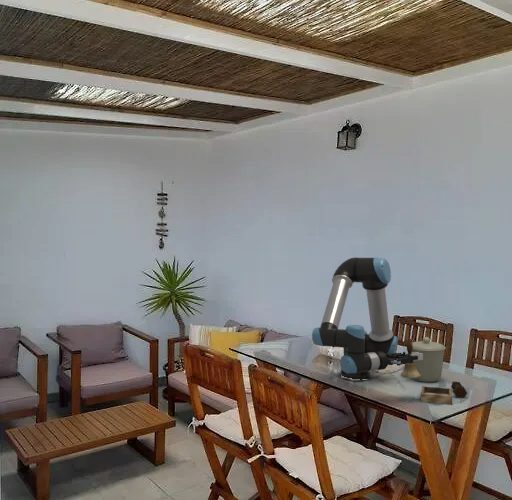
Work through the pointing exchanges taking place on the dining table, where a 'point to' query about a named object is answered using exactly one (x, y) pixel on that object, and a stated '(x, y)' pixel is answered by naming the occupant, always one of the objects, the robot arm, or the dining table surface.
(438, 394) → the square tray
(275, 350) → the dining table surface
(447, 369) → the dining table surface
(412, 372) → the hand bell
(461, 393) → the bolt
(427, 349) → the canister
